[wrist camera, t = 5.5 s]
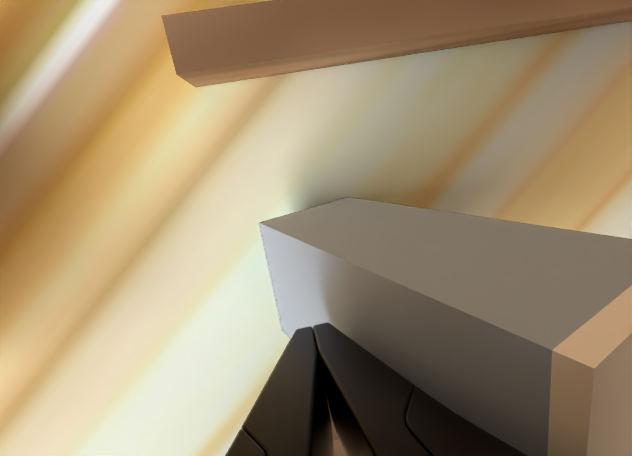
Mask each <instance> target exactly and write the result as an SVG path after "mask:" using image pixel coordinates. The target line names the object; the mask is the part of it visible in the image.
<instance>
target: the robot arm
mask: <svg viewBox="0 0 632 456" xmlns="http://www.w3.org/2000/svg"><path fill="white" fill-rule="evenodd" d="M329 410H330V412H329ZM330 414H331V417H330ZM331 419H332V422H333V425H334V429H335V432H336V435H337V438H338V441H339V444H340V446H341V449H342V452H343V455H344V456H528V455H526V454H524V453H523V452H521V451H519V450H518V449H516V448H514V447H512V446H511V445H509V444H507V443H505V442H504V441H502V440H500V439H499V438H497V437H495V436H493V435H492V434H490V433H488V432H486V431H485V430H483V429H481V428H479V427H478V426H476V425H475V424H473V423H471V422H470V421H468V420H466V419H465V418H463V417H461V416H460V415H458V414H456V413H455V412H453V411H452V410H450V409H449V408H447V407H446V406H444V405H443V404H441V403H440V402H438V401H437V400H435V399H434V398H432V397H431V396H430V395H428V394H427V393H425V392H424V391H423V390H421V389H420V388H419V387H415V385H414V384H413V383H411V382H410V381H409V380H407V379H406V378H405V377H403V376H402V375H400V374H399V373H398V372H396V371H395V370H394V369H392V368H391V367H389V366H388V365H387V364H385V363H384V362H383V361H381V360H380V359H378V358H377V357H376V356H374V355H373V354H372V353H370V352H369V351H367V350H366V349H365V348H363V347H362V346H360V345H359V344H358V343H356V342H355V341H354V340H352V339H351V338H349V337H348V336H347V335H345V334H344V333H343V332H341V331H340V330H338V329H337V328H336V327H334V326H333V325H332V324H330V323H328V322H326V323H321V324H317V325H314V326H313V328H312V327H311V326H308V327H304V328H299V329H296V330H295V332H294V334H293V336H292V337H291V339H290V341H289V343H288V345H287V346H286V348H285V350H284V352H283V354H282V355H281V357H280V359H279V361H278V363H277V364H276V366H275V368H274V370H273V372H272V373H271V375H270V377H269V379H268V381H267V382H266V384H265V386H264V388H263V390H262V391H261V393H260V395H259V397H258V399H257V400H256V402H255V404H254V406H253V408H252V409H251V411H250V413H249V415H248V417H247V418H246V420H245V422H244V424H243V426H242V429H241V430H240V431H239V432H238V434H237V436H236V438H235V440H234V441H233V443H232V445H231V447H230V448H229V450H228V452H227V453H226V455H225V456H334V446H333V435H332V425H331Z"/></svg>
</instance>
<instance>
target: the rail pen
mask: <svg viewBox="0 0 632 456" xmlns="http://www.w3.org/2000/svg"><path fill="white" fill-rule="evenodd" d="M162 19H163V23H164V27H165V31H166V35H167V39H168V43H169V47H170V51H171V55H172V58H173V62H174V66H175V70H176V74H177V75H178V76H180V77H181V78H183V79H184V80H186V81H187V82H189V83H190V84H192V85H193V86H195V87H200V86H206V85H213V84H220V83H226V82H233V81H239V80H246V79H252V78H259V77H265V76H272V75H279V74H285V73H292V72H298V71H305V70H311V69H318V68H325V67H331V66H338V65H344V64H351V63H357V62H364V61H370V60H377V59H384V58H390V57H397V56H403V55H410V54H416V53H423V52H429V51H436V50H443V49H449V48H456V47H462V46H469V45H475V44H482V43H489V42H495V41H502V40H508V39H515V38H521V37H528V36H534V35H541V34H548V33H554V32H561V31H567V30H574V29H580V28H587V27H593V26H600V25H607V24H613V23H620V22H626V21H632V0H275V1H267V2H260V3H252V4H245V5H238V6H230V7H223V8H215V9H208V10H200V11H193V12H185V13H178V14H171V15H163V16H162ZM329 412H330V410H329ZM330 417H331V414H330ZM331 425H332V435H333V446H334V456H344V455H343V452H342V449H341V446H340V444H339V441H338V438H337V435H336V432H335V429H334V425H333V422H332V419H331Z"/></svg>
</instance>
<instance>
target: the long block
mask: <svg viewBox="0 0 632 456" xmlns="http://www.w3.org/2000/svg"><path fill="white" fill-rule="evenodd" d="M259 226H260V231H261V236H262V240H263V245H264V250H265V254H266V259H267V263H268V268H269V273H270V277H271V282H272V286H273V291H274V296H275V300H276V305H277V309H278V314H279V319H280V323H281V328H282V331H283V332H284V333H285V334H286V335H287V336H288V337H289V338H290V339H291V337H292V336H293V334H294V332H295V330H296V329H299V328H304V327H308V326H311V327H312V328H313V326H314V325H317V324H321V323H326V322H328V323H330V324H332V325H333V326H334V327H336V328H337V329H338V330H340V331H341V332H343V333H344V334H345V335H347V336H348V337H349V338H351V339H352V340H354V341H355V342H356V343H358V344H359V345H360V346H362V347H363V348H365V349H366V350H367V351H369V352H370V353H372V354H373V355H374V356H376V357H377V358H378V359H380V360H381V361H383V362H384V363H385V364H387V365H388V366H389V367H391V368H392V369H394V370H395V371H396V372H398V373H399V374H400V375H402V376H403V377H405V378H406V379H407V380H409V381H410V382H411V383H413V384H414V385H415V387H419V388H420V389H421V390H423V391H424V392H425V393H427V394H428V395H430V396H431V397H432V398H434V399H435V400H437V401H438V402H440V403H441V404H443V405H444V406H446V407H447V408H449V409H450V410H452V411H453V412H455V413H456V414H458V415H460V416H461V417H463V418H465V419H466V420H468V421H470V422H471V423H473V424H475V425H476V426H478V427H479V428H481V429H483V430H485V431H486V432H488V433H490V434H492V435H493V436H495V437H497V438H499V439H500V440H502V441H504V442H505V443H507V444H509V445H511V446H512V447H514V448H516V449H518V450H519V451H521V452H523V453H524V454H526V455H528V456H632V239H627V238H620V237H613V236H607V235H600V234H593V233H586V232H580V231H573V230H566V229H559V228H553V227H546V226H539V225H533V224H526V223H519V222H512V221H506V220H499V219H492V218H485V217H479V216H472V215H465V214H459V213H452V212H445V211H438V210H432V209H425V208H418V207H411V206H405V205H398V204H391V203H385V202H378V201H371V200H364V199H358V198H351V197H347V198H343V199H340V200H336V201H333V202H329V203H326V204H322V205H319V206H315V207H312V208H308V209H305V210H301V211H298V212H294V213H291V214H287V215H284V216H280V217H277V218H273V219H270V220H266V221H263V222H260V223H259Z"/></svg>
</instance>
